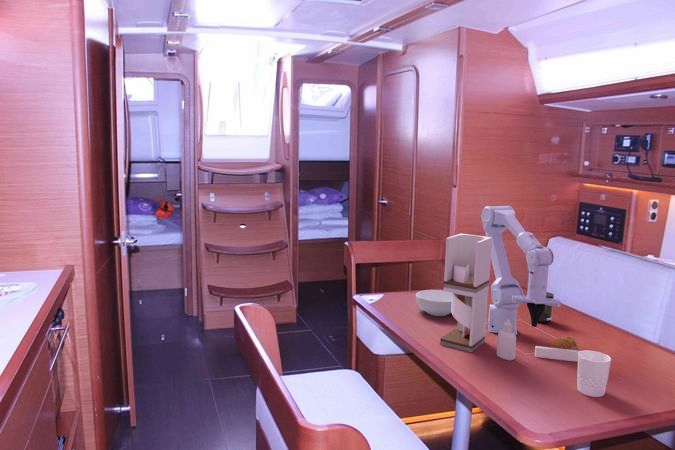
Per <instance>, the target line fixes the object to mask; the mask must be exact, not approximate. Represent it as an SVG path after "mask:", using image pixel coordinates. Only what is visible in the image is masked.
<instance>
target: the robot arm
mask: <svg viewBox="0 0 675 450" xmlns="http://www.w3.org/2000/svg"><path fill="white" fill-rule="evenodd" d="M480 217H481V219H480V220H481V222H482V226H483V227H482V228H483V231H484V232H485V237H492V249H491V263H492V267H493V268H492V269H493V272H494V273H493V274H494V276H495V277H494V278H495V280H494V281H493V283H492V284H491V285H490V291H491V292H490V293H491V294H490V298H491V301H492V303H493V304H489V309H488V319H487V328H488V333H496V334H498V333H499V331H501V330H503V329H504V323H506V322H507V320H510V324H512V332H513V333H514V334H515V335H516V336H517V335H518V331H517V315H518V308H519V307H520V304H526V307H527V309H528V311H529V315H530V321H531V323H530V324H531V325H530V326H531V327H533V328H537V326H538V320H539V318H540V316H541V314H542V313H543V312H544V310H545V305H548V306H553V307H557V308H561V302H562V301H561V299H558V298H556V299H555V298H554V299H551V298H546V292H548V291H547V289H548V280H549V279H548V278H549V269H550V268H549V267H550V266H551V265H552V264H553V262H554V260H555V259H554V257H555V256H554V252H553V250H552V249H551V247H547V246H544V245H542V244H541V242H539V240H538V239H537V238H536V237H535V234H534V233H533V232H530V231H526V230H525V229H524V227H523V226H522V224H521V223H520V222H519V220H518V219H517V218H516V211H515V210H514V209H513V207H512V206H511V205H497V206H496V205H495V206H494V205H493V206H492V205H491V206H490V205H486V206H485V207H484V208H483V209H482V212H481V214H480ZM507 229H508V231H510V232H511V234H512V235H513V236H514V237H515V238H516V244H517V246H518V247H519V248H520V250H521V251H522V252H523V253H524V254H525V260H526V263H527V271H528V281H527V292H526V295H524V294H525V293H524V291H523V289H522V287H521V285H520V282H519V280H517V279H516V278H514V277H513V276H512V273H511V268H510V264H509V260H508V257H507V251H506V247H505V244H504V239H503V235H502V234H503V232H505V231H506V230H507Z"/></svg>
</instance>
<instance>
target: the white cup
mask: <svg viewBox="0 0 675 450" xmlns="http://www.w3.org/2000/svg"><path fill="white" fill-rule="evenodd" d="M579 351H580V352H579V353H578V362H577V368H576V369H577V372H576V375H577V376H576V380H577V383H576V384H577V385H576V389H577V391H578V392H579V393H580V394H582V395H585V396H588V397H591V398H592V397H593V398H599V397H601V398H602V397H603V396H605V394H606V389H607V384H608V380H609V374H610V369H611V368H610V367H611V362H612V358H611V357H610V355H608V354H605V353H603V352H601V351H597V350H596V351H595V350H587V349H585V350H579Z"/></svg>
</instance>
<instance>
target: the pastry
mask: <svg viewBox="0 0 675 450" xmlns="http://www.w3.org/2000/svg"><path fill="white" fill-rule="evenodd" d="M550 348H559V349H568V350H577V351H578V348H579V346H578V343H577V342H576V340H575V339H574V338H573V337H572V336H569V335H568V336H565V335H563V336H561V337H559V338H555V340H553V341H552V342H551V345H550Z"/></svg>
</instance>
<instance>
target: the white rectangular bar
mask: <svg viewBox="0 0 675 450" xmlns="http://www.w3.org/2000/svg"><path fill="white" fill-rule="evenodd" d="M534 348H535V349H534V357H535V358H542V359H550V360H559V361H568V362H576V363H578V353H579V352H580V351H581V350H578V349H577V350H568V349H559V348H551V346H550V347H548V346H540V345H535V347H534Z"/></svg>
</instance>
